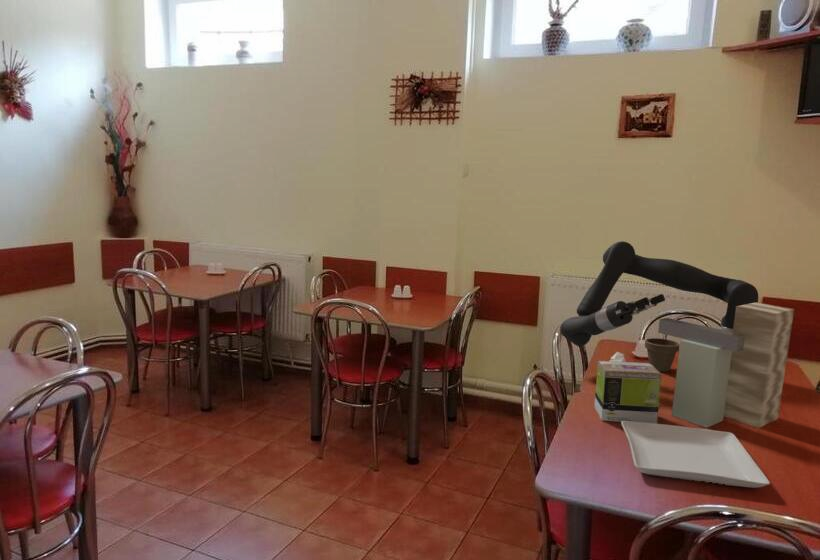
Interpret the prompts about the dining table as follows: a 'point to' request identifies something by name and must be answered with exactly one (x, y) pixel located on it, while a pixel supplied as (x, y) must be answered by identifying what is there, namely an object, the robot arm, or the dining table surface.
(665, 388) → the dining table surface
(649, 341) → the flower pot
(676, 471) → the square plate
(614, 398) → the tea box
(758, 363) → the tall stand
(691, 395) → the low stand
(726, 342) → the metal bar
